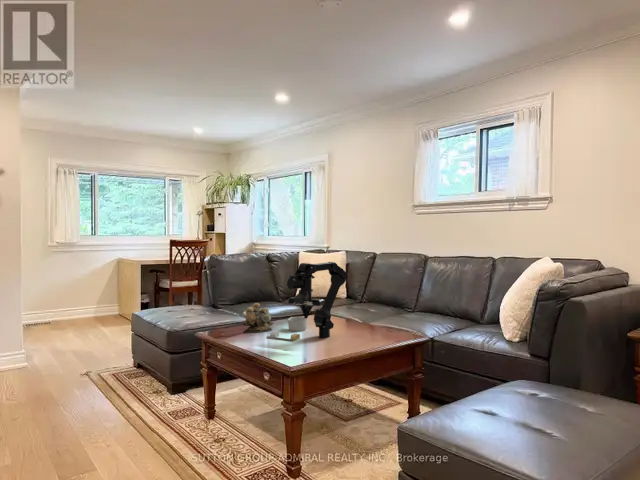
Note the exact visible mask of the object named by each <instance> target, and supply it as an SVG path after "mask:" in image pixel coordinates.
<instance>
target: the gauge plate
mask: <svg viewBox="0 0 640 480" xmlns="http://www.w3.org/2000/svg"><path fill="white" fill-rule="evenodd" d="M266 339H271V340H279V341H287V342H294V341H293V339H290V338H284V337H279V336H278V337H270V335H267V336H266Z"/></svg>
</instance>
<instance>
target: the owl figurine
mask: <svg viewBox="0 0 640 480" xmlns="http://www.w3.org/2000/svg"><path fill="white" fill-rule="evenodd" d="M260 308H261V304H260V303H259V302H254V303H253V304H252V306H249V307H246V309H245V320H244V321H242V324H243V326H245V327H248V328H246V329H245V330H243V334H246V333H248V334H259V333H260V334H261V333H267V332H272V331H273V328H272V327H271V326H272V325H274V322H273V321H271V319H272V316H271V312H269V309H268V307H262V308H261V309H260Z"/></svg>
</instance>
